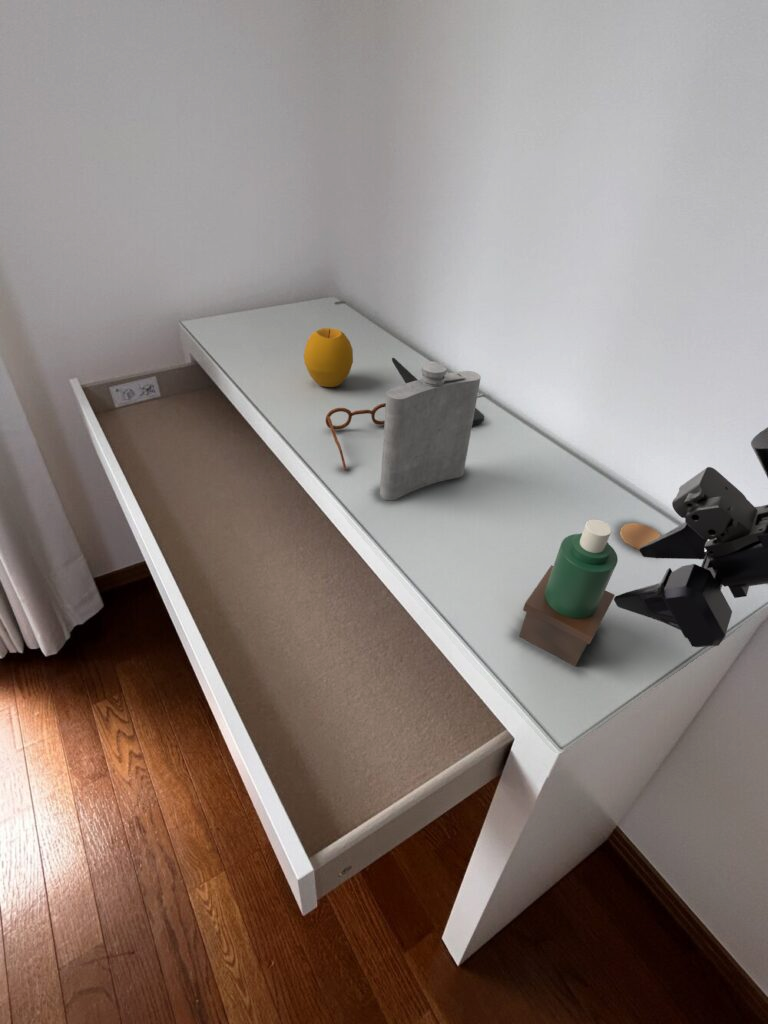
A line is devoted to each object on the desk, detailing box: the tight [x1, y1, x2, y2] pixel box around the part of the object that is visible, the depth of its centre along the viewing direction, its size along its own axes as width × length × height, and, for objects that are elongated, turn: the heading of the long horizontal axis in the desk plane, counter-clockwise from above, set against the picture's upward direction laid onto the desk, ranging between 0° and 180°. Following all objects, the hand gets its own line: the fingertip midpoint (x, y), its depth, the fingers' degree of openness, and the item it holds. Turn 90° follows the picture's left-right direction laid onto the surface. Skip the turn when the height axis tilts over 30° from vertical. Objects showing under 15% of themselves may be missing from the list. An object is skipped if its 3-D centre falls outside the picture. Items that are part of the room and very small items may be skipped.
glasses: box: [325, 402, 386, 471], centre depth 98 cm, size 13×13×5 cm
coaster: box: [619, 522, 662, 551], centre depth 85 cm, size 6×6×1 cm
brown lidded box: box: [518, 565, 616, 667], centre depth 68 cm, size 8×8×6 cm
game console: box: [391, 357, 485, 426], centre depth 108 cm, size 16×14×9 cm
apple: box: [303, 327, 354, 388], centre depth 113 cm, size 10×10×12 cm
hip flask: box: [379, 361, 482, 501], centre depth 86 cm, size 16×4×20 cm, turn 122°
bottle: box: [545, 519, 618, 619], centre depth 63 cm, size 6×6×11 cm
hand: (629, 575), depth 60 cm, fingers open, 9 cm apart
